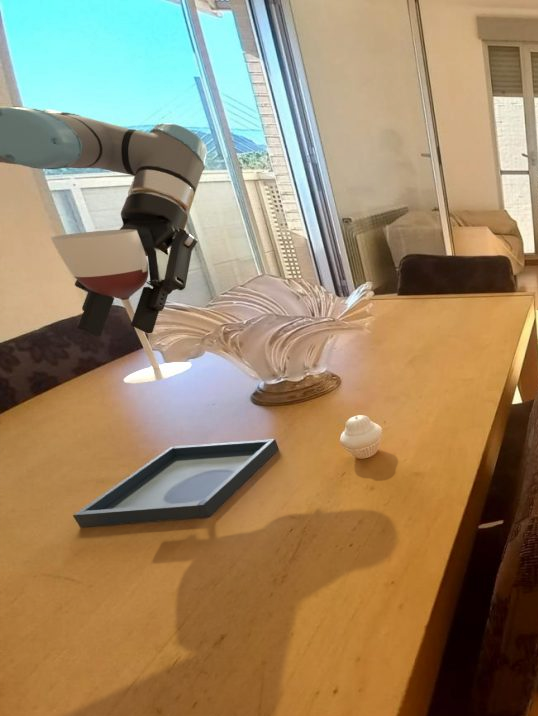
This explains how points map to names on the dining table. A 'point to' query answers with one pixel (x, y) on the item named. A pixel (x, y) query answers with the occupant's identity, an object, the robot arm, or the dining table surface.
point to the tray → (179, 484)
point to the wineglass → (114, 280)
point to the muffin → (361, 437)
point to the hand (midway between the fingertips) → (115, 330)
